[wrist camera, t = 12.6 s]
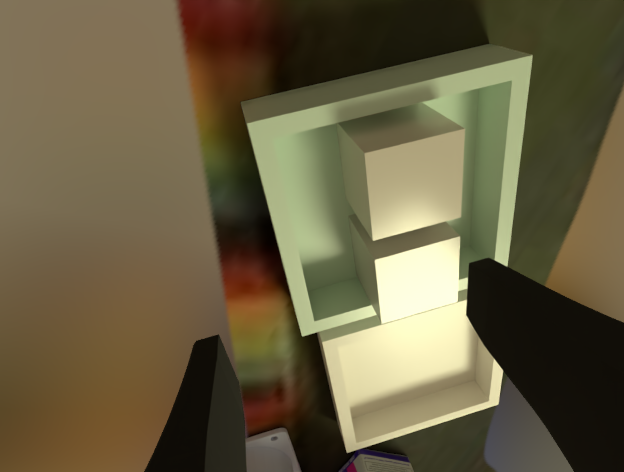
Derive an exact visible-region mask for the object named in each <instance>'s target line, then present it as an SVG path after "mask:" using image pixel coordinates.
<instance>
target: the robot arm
mask: <svg viewBox="0 0 624 472" xmlns="http://www.w3.org/2000/svg"><path fill="white" fill-rule="evenodd" d="M466 316H467V317H468V319H469V321H470V323H471V324H472V326H473V328H474V330H475V331H476V333H477V335H478V336H479V338H480V340H481V341H482V343H483V345H484V346H485V347H486V349H487V350H488V351H489V353H490V354H491V355H492V357H493V358H494V359H495V361H496V362H497V363H498V364H499V366H500V367H501V368H502V370H503V371H504V372H505V374H506V375H507V376H508V377H509V379H510V380H511V381H512V382H513V384H514V385H515V386H516V388H517V389H518V390H519V391H520V393H521V394H522V395H523V397H524V398H525V399H526V400H527V402H528V403H529V404H530V406H531V407H532V408H533V409H534V411H535V412H536V414H537V415H538V416H539V418H540V419H541V420H542V422H543V423H544V425H545V426H546V428H547V429H548V431H549V432H550V434H551V435H552V437H553V439H554V440H555V442H556V443H557V445H558V447H559V448H560V450H561V451H562V453H563V454H564V456H565V457H566V459H567V460H568V462H569V464H570V466H571V467H572V469H573V471H574V472H624V323H623V322H621V321H618V320H616V319H614V318H611V317H609V316H606V315H604V314H602V313H600V312H598V311H595V310H593V309H591V308H588V307H586V306H584V305H582V304H580V303H578V302H576V301H573V300H571V299H569V298H567V297H565V296H563V295H561V294H559V293H557V292H555V291H553V290H551V289H549V288H547V287H545V286H543V285H541V284H539V283H537V282H535V281H533V280H532V279H530V278H528V277H526V276H524V275H522V274H520V273H518V272H516V271H514V270H512V269H511V268H509V267H507V266H505V265H503V264H501V263H499V262H497V261H495V260H493V259H491V258H489V257H488V258H485V259H481V260H478V261H474V262H471V263H469V269H468V287H467V305H466ZM144 472H301V469H300V466H299V463H298V460H297V457H296V455H295V452H294V449H293V446H292V443H291V440H290V437H289V435H288V432H287V430H286V429H285V428H277V429H274V430H271V431H268V432H264V433H261V434H258V435H255V436H252V437H248V438H245V421H244V413H243V406H242V399H241V393H240V387H239V382H238V379H237V377H236V375H235V372H234V370H233V367H232V365H231V363H230V360H229V358H228V356H227V353H226V351H225V348H224V346H223V343H222V341H221V339H220V336H219V335H215V336H212V337H208V338H205V339H201V340H198V341H196V342H195V344H194V345H193V349H192V353H191V356H190V359H189V363H188V366H187V369H186V372H185V375H184V378H183V381H182V384H181V387H180V389H179V392H178V395H177V397H176V400H175V403H174V405H173V408H172V411H171V413H170V416H169V418H168V421H167V423H166V425H165V428H164V430H163V432H162V435H161V437H160V439H159V441H158V444H157V446H156V448H155V450H154V453H153V455H152V457H151V459H150V461H149V463H148V465H147V467H146V469H145V471H144Z"/></svg>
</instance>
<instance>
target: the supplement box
mask: <svg viewBox="0 0 624 472" xmlns="http://www.w3.org/2000/svg"><path fill="white" fill-rule="evenodd" d="M338 472H414V471H413V469H412V466H411V464H410V461H409V458H408V457H407V456H403V455H397V454H391V453H385V452H379V451H374V450H369V449H362V448H361V449H358V450H357V451H356V452H355V454H354V455H353V456H352V457H351V458H350V460H349V461H348V462H347V463H346V464H345V465H344V466H343V467H342V468H341V469H340V470H339V471H338Z"/></svg>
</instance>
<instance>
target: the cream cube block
mask: <svg viewBox="0 0 624 472" xmlns="http://www.w3.org/2000/svg"><path fill="white" fill-rule="evenodd" d="M348 219H349V226H350V234H351V241H352V248H353V255H354V262H355V269H356V275H357V277H358V279H359V281H360V283H361V285H362V287H363V289H364V291H365V293H366V295H367V297H368V299H369V301H370V303H371V305H372V307H373V308H374V310H375V312H376V314H377V316H378V318H379V320H380V322H381V324H384V323H387V322H391V321H394V320H397V319H401V318H404V317H408V316H411V315H414V314H418V313H421V312H425V311H428V310H431V309H435V308H438V307H441V306H445V305H448V304H452V303H455V302H458V283H459V255H460V236H459V234H458V233H457V232H456V231H455V230H454V229H453V228H452V227H451V226H450V225H449V224H448V223H447V222H446V221H445V222H442V223H438V224H434V225H430V226H427V227H423V228H419V229H416V230H412V231H408V232H404V233H401V234H397V235H393V236H389V237H386V238H382V239H378V240H375V241H373V240H372V239H371V237H370V236H369V234H368V233H367V231H366V229H365V228H364V226H363V225H362V223H361V222H360V220H359V218H358V217H357V215H356V214H352V215H349V216H348Z"/></svg>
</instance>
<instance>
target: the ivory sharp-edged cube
mask: <svg viewBox="0 0 624 472" xmlns="http://www.w3.org/2000/svg"><path fill="white" fill-rule="evenodd" d="M336 128H337V136H338V144H339V151H340V159H341V167H342V174H343V182H344V190H345V197H346V200H347V201H348V203H349V204H350V206H351V207H352V209H353V211H354V212H355V214H356V215H357V217H358V218H359V220H360V222H361V223H362V225H363V226H364V228H365V229H366V231H367V233H368V234H369V236H370V237H371V239H372V240H373V241H375V240H378V239H382V238H386V237H389V236H393V235H397V234H401V233H404V232H408V231H412V230H416V229H419V228H423V227H427V226H430V225H434V224H438V223H442V222H445V221H449V220H453V219H457V218H460V217H461V205H462V183H463V161H464V139H465V128H463V127H461V126H460V125H458V124H457V123H455V122H453V121H452V120H450V119H448V118H447V117H445V116H443V115H442V114H440V113H439V112H437V111H435V110H434V109H432V108H430V107H429V106H427V105H425V104H424V103H422V102H421V103H417V104H413V105H409V106H404V107H400V108H396V109H392V110H388V111H384V112H380V113H376V114H372V115H368V116H364V117H359V118H355V119H351V120H347V121H343V122H339V123H336Z"/></svg>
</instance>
